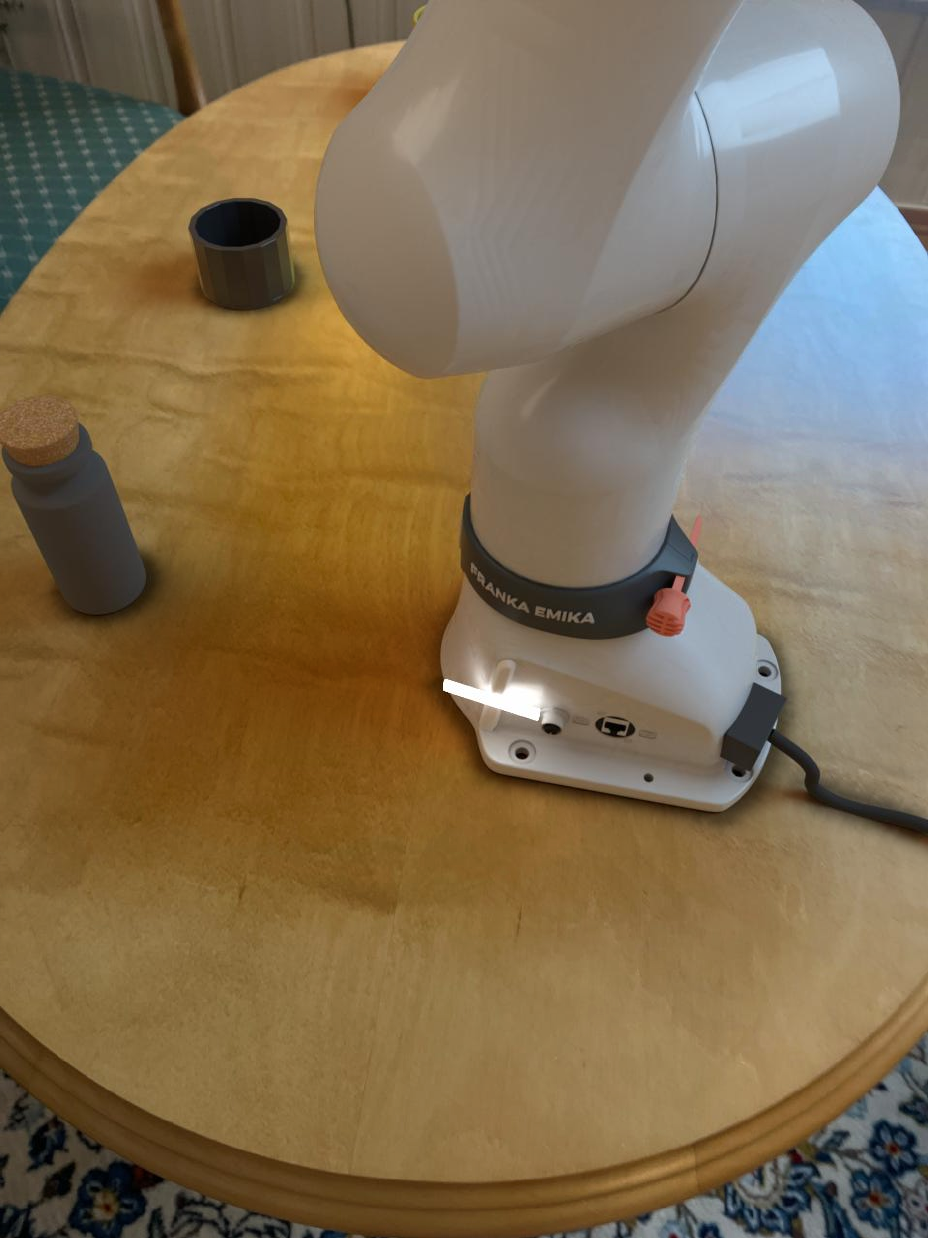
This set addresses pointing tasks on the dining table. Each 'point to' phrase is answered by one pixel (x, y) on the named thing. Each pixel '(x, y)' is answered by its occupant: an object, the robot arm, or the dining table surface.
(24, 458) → the bottle
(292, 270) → the tube
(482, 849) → the dining table surface
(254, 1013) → the dining table surface
